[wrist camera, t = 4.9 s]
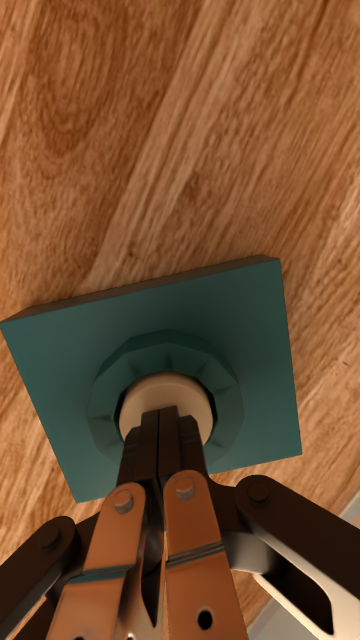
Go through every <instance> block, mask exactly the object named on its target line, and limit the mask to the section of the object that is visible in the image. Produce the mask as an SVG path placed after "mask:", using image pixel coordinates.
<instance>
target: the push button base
mask: <svg viewBox="0 0 360 640" xmlns="http://www.w3.org/2000/svg"><path fill="white" fill-rule="evenodd" d="M0 329H1V331H2V333H3V336H4V338H5V340H6V343H7V345H8V347H9V349H10V352H11V354H12V356H13V359H14V361H15V363H16V366H17V368H18V370H19V373H20V375H21V377H22V379H23V382H24V384H25V386H26V389H27V391H28V393H29V396H30V398H31V400H32V402H33V405H34V407H35V409H36V412H37V414H38V416H39V419H40V421H41V423H42V426H43V428H44V430H45V432H46V435H47V437H48V439H49V442H50V444H51V446H52V449H53V451H54V453H55V455H56V458H57V460H58V462H59V465H60V467H61V469H62V472H63V474H64V476H65V479H66V481H67V483H68V485H69V488H70V490H71V492H72V495H73V497H74V499H75V502H76V504H78V503H83V502H88V501H92V500H97V499H101V498H106V497H107V495H108V494H109V493H110V492H111V491H112V490H113V489H114V488H116V483H117V478H118V472H119V467H120V462H121V458H122V452H123V449H124V448H123V446H124V439H123V437H122V435H121V431H120V426H119V420H120V414H121V410H122V406H123V402H124V398H125V394H126V390H127V387H128V386H129V385H130V384H131V383H133V382H134V381H135V380H136V379H137V378H138V377H139V376H143V375H147V374H152V373H156V372H161V371H165V370H171V371H175V372H178V373H182V374H186V375H190V376H194V377H196V378H197V379H198V380H199V381H200V382H201V383H202V384H203V385H204V386H205V390H206V393H207V397H208V401H209V405H210V408H211V412H212V418H213V424H212V430H211V433H210V436H209V438H208V440H207V441H206V443H205V444H204V445H203V448H204V453H205V458H206V464H207V469H208V474H209V475H211V474H216V473H220V472H225V471H230V470H234V469H239V468H243V467H248V466H252V465H257V464H262V463H266V462H271V461H275V460H280V459H285V458H289V457H294V456H298V455H302V447H301V438H300V429H299V420H298V412H297V403H296V394H295V385H294V377H293V368H292V359H291V350H290V342H289V333H288V324H287V315H286V307H285V298H284V289H283V280H282V272H281V263H280V259H279V258H274V257H270V256H265V255H256V256H251V257H247V258H242V259H238V260H234V261H229V262H225V263H221V264H216V265H212V266H208V267H203V268H199V269H195V270H190V271H186V272H182V273H177V274H173V275H169V276H164V277H160V278H155V279H151V280H147V281H142V282H138V283H134V284H129V285H125V286H121V287H116V288H112V289H108V290H103V291H99V292H95V293H90V294H86V295H82V296H77V297H73V298H68V299H64V300H60V301H55V302H51V303H47V304H42V305H38V306H34V307H29V308H26V309H24V310H22V311H20V312H18V313H16V314H14V315H12V316H11V317H9V318H7V319H5V320H3V321H1V322H0Z"/></svg>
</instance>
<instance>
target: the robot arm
mask: <svg viewBox="0 0 360 640" xmlns="http://www.w3.org/2000/svg"><path fill="white" fill-rule="evenodd" d="M123 448H124V449H123V452H122V458H121V462H120V467H119V472H118V478H117V483H116V488H114V489H113V490H112V491H111V492H110V493H109V494H108V495H107V497H106V498H105V500H104V502H103V504H102V507H101V511H99V512H98V513H96V514H95V515H93V516H91V517H89V518H87V519H86V520H84V521H82V522H80V523H78V524H76V525H75V523H74V521H73V519H72V518H70V517H68V516H59V517H56V518H53V519H51V520H49V521H48V522H46V523H45V524H43V525H42V526H41V527H40V528H39V529H38V530H37V531H36V532H35V533H34V534H32V535H31V536H30V537H29V538H28V539H27V540H26V541H25V542H24V543H23V544H22V545H21V546H20V547H19V548H18V549H17V550H16V551H15V552H14V553H13V554H12V555H11V556H10V557H9V558H8V559H7V560H6V561H5V562H4V563H3V564H2V565H1V566H0V640H7V639H8V638H9V636H10V635H11V634H12V633H13V632H14V630H15V629H16V628H17V627H18V626H19V625H20V623H21V622H22V621H23V620H24V619H25V617H26V616H27V615H28V614H29V613H30V612H31V610H32V609H33V608H34V607H35V606H36V604H37V603H38V602H39V601H40V600H41V599H42V597H43V596H44V595H45V597H46V600H45V602H44V603H43V604H42V605H41V606H40V608H39V609H38V610H37V611H36V612H35V614H34V615H33V616H32V617H31V618H30V620H29V621H28V622H27V623H26V624H25V626H24V627H23V628H22V629H21V630H20V632H19V633H18V634H17V635H16V636H15V638H14V639H13V640H162V619H163V602H164V586H165V581H166V596H167V611H168V626H169V640H249V638H248V634H247V630H246V627H245V623H244V619H243V615H242V612H241V608H240V604H239V600H238V597H237V593H236V589H235V585H234V582H233V578H232V574H231V570H230V569H235V570H241V571H246V572H251V574H252V576H253V577H254V579H255V580H256V581H257V582H258V583H259V584H260V585H261V586H262V587H263V588H264V589H265V590H267V591H268V592H269V593H270V594H271V595H272V596H273V597H274V598H275V599H276V600H277V601H278V602H279V603H280V604H282V605H283V606H284V607H285V608H286V609H287V610H288V611H289V612H290V613H291V614H292V615H293V616H294V617H296V618H297V619H298V620H299V621H300V622H301V623H302V624H303V625H304V626H305V627H306V628H307V629H309V630H310V631H311V632H312V633H313V634H314V635H315V636H316V637H317V638H318V639H319V640H360V529H358V528H357V527H355V526H353V525H351V524H350V523H348V522H346V521H344V520H343V519H341V518H339V517H338V516H336V515H334V514H332V513H331V512H329V511H327V510H325V509H324V508H322V507H320V506H318V505H317V504H315V503H313V502H312V501H310V500H308V499H306V498H305V497H303V496H301V495H299V494H298V493H296V492H294V491H293V490H291V489H289V488H287V487H286V486H284V485H282V484H280V483H279V482H277V481H275V480H274V479H272V478H270V477H267V476H264V475H251V476H247V477H245V478H243V479H242V480H241V481H240V482H239V483H238V484H237V485H236V487H232V486H224V485H220V484H218V483H216V482H214V481H213V480H212V479H211V478H210V477H209V474H208V469H207V464H206V458H205V453H204V448H203V444H202V440H201V435H200V431H199V427H198V423H197V421H196V419H195V418H194V417H193V416H192V415H186V416H182V417H180V415H179V411H178V407H177V405H175V406H170V407H166V408H161V409H160V410H159V409H157V410H153V411H148V412H144V413H142V416H141V424H140V426H137V427H133V428H131V430H130V431H129V433H128V434H127V435H126V437H125V441H124V446H123ZM164 532H166V535H167V548H168V561H166V554H165V550H164Z"/></svg>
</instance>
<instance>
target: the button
mask: <svg viewBox="0 0 360 640" xmlns="http://www.w3.org/2000/svg"><path fill="white" fill-rule="evenodd" d="M175 405H177V407H178V411H179V415H180V417H182V416H186V415H192V416H193V417H194V418H195V419H196V421H197V423H198V427H199V431H200V435H201V440H202V444H203V445H204V444H205V443H206V441H207V440H208V438H209V436H210V433H211V430H212V424H213V418H212V412H211V408H210V405H209V401H208V397H207V393H206V390H205V386H204V385H203V384H202V383H201V382H200V381H199V380H198V379H197V378H196V377H194V376H190V375H186V374H182V373H178V372H175V371H171V370H165V371H161V372H156V373H152V374H147V375H143V376H139V377H138V378H137V379H136V380H135V381H134V382H133V383H131V384H130V385H129V386H128V387H127V390H126V394H125V398H124V402H123V406H122V410H121V414H120V420H119V426H120V431H121V435H122V437H123V439H124V441H125V437H126V435H127V434H128V433H129V431H130V430H131V428H133V427H137V426H140V424H141V416H142V413H144V412H148V411H153V410H157V409H159V410H160V409H161V408H166V407H170V406H175Z"/></svg>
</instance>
